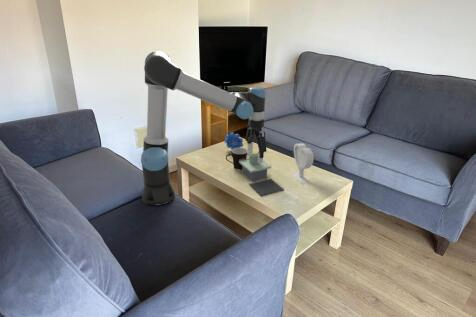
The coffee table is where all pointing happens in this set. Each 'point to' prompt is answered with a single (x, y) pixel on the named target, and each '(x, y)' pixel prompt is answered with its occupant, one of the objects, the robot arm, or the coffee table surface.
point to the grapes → (233, 141)
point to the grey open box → (254, 174)
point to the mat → (266, 187)
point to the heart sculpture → (302, 161)
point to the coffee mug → (238, 157)
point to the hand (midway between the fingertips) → (255, 158)
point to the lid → (254, 164)
